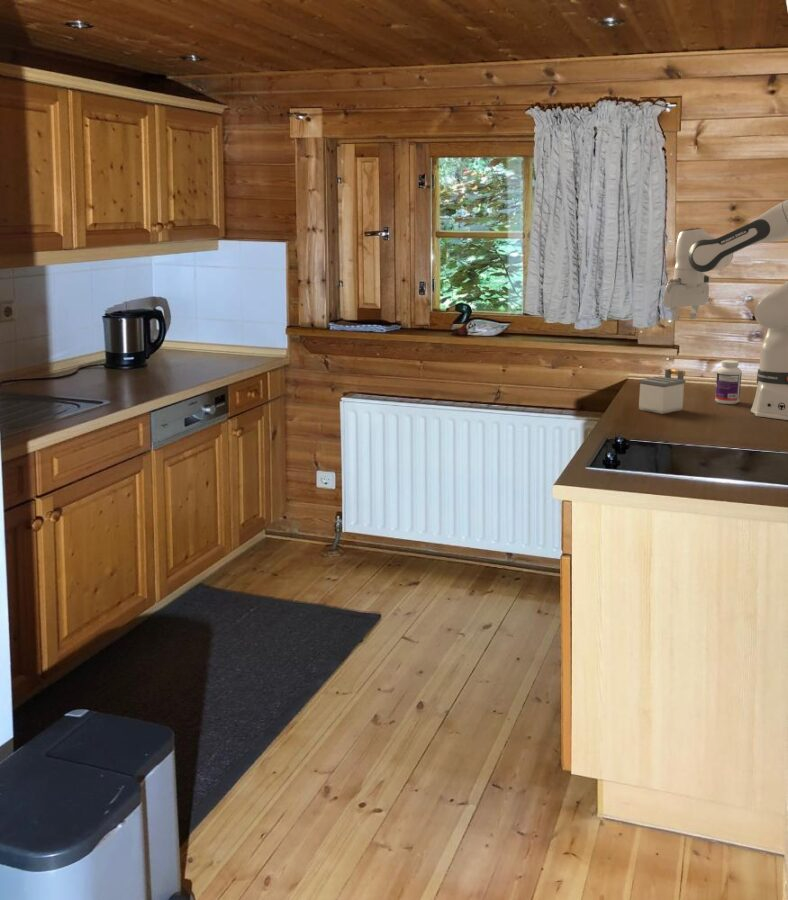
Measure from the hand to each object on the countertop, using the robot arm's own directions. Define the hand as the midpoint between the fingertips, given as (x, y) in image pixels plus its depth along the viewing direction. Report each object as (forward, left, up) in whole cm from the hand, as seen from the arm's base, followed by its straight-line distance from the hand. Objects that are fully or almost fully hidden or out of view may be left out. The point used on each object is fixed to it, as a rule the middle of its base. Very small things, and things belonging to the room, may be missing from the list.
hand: (684, 319), depth 353 cm
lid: (-1, +10, -20) cm, 22 cm away
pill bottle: (-8, -16, -29) cm, 34 cm away
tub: (-1, +12, -29) cm, 31 cm away
